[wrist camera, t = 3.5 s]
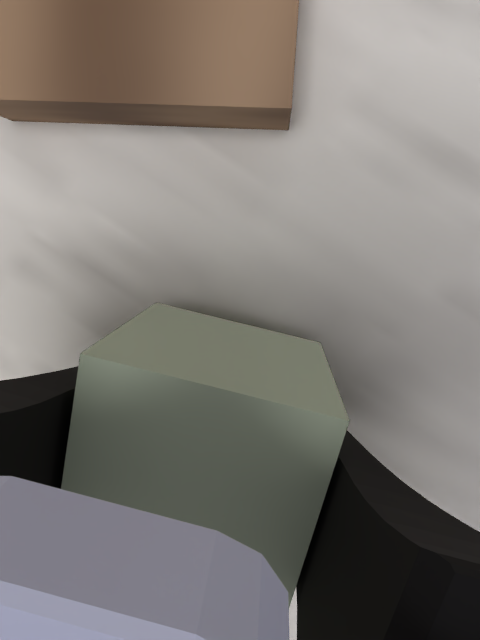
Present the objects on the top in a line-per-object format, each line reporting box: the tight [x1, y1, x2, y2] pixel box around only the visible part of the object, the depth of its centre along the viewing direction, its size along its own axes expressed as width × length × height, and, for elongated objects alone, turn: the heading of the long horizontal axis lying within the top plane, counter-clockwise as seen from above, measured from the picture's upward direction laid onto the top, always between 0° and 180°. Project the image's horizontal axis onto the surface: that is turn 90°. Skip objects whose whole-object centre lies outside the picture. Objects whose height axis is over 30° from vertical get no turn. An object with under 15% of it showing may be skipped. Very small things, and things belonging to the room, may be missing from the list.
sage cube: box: [61, 303, 350, 606], centre depth 11 cm, size 5×5×5 cm
